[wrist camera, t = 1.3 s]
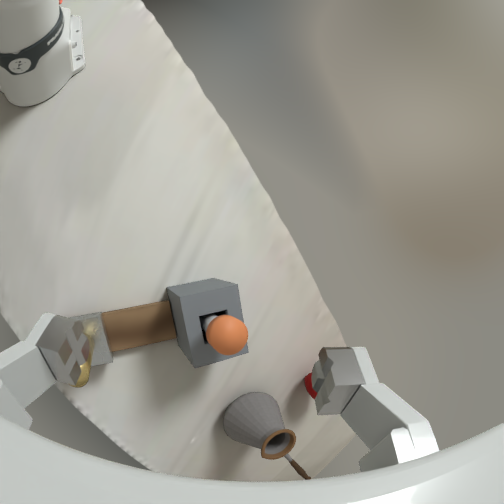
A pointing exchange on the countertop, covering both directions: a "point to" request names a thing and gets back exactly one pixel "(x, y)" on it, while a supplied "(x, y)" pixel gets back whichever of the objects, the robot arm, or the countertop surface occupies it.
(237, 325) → the button
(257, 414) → the coffee pot
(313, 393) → the strawberry
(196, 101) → the countertop surface
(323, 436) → the countertop surface
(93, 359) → the carriage
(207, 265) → the countertop surface
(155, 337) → the rail
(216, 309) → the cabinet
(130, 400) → the countertop surface
